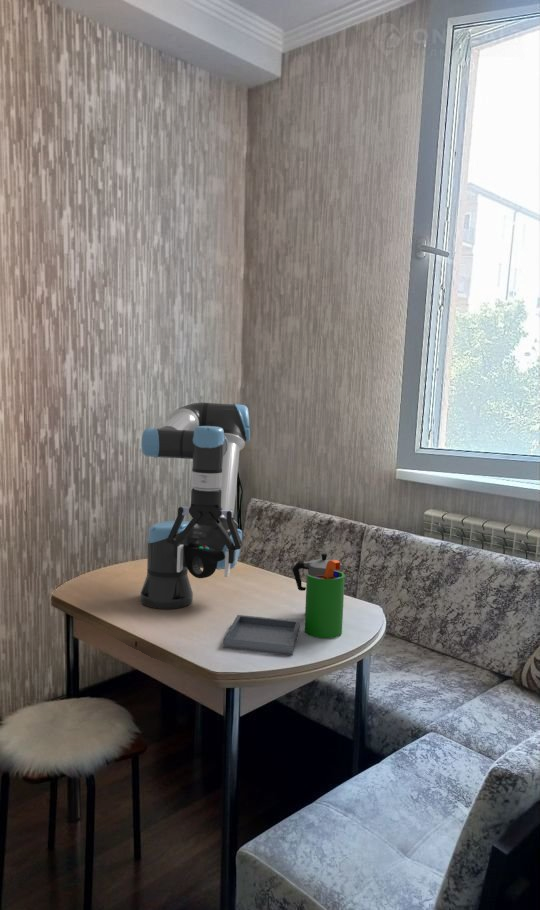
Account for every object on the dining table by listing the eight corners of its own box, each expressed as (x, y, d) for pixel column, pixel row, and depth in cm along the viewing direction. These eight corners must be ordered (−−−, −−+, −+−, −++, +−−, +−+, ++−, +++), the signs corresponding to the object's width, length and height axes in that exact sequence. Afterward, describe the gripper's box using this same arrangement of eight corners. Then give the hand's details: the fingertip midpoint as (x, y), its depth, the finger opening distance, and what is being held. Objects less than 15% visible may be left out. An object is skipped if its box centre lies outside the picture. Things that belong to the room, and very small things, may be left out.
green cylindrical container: (321, 622, 189) (325, 551, 187) (349, 631, 184) (353, 558, 181) (299, 632, 181) (303, 558, 179) (327, 642, 176) (332, 565, 174)
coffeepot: (338, 609, 201) (342, 549, 199) (348, 621, 192) (352, 558, 190) (286, 610, 198) (290, 549, 196) (294, 622, 189) (297, 558, 187)
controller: (191, 571, 180) (193, 533, 179) (226, 582, 172) (228, 542, 171) (179, 574, 177) (181, 536, 175) (214, 585, 169) (216, 545, 168)
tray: (237, 623, 185) (237, 614, 185) (299, 630, 183) (300, 621, 183) (223, 648, 169) (224, 638, 168) (292, 655, 166) (293, 645, 166)
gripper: (155, 487, 170) (152, 572, 172) (250, 494, 166) (246, 582, 168) (165, 482, 177) (162, 564, 180) (256, 489, 173) (252, 573, 176)
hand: (203, 573), depth 174 cm, fingers closed on controller, 12 cm apart
